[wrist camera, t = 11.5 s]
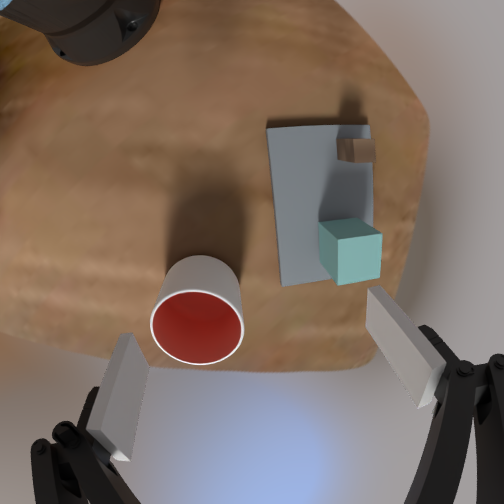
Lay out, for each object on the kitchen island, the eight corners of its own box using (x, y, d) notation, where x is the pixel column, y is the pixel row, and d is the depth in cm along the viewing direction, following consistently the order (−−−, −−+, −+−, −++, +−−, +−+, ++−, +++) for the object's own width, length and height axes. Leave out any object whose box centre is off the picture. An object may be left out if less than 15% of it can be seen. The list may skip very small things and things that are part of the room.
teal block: (319, 261, 37) (337, 285, 30) (318, 222, 35) (337, 239, 28) (356, 255, 37) (379, 277, 31) (357, 217, 35) (382, 233, 29)
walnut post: (336, 138, 32) (353, 138, 27) (355, 138, 32) (374, 138, 28) (337, 159, 33) (354, 163, 28) (356, 158, 33) (375, 162, 29)
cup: (211, 237, 36) (207, 270, 27) (253, 295, 40) (262, 340, 31) (150, 277, 38) (131, 318, 28) (194, 328, 41) (189, 376, 32)
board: (265, 129, 32) (266, 128, 31) (365, 125, 33) (369, 125, 32) (280, 282, 40) (281, 286, 38) (367, 268, 40) (371, 271, 39)
